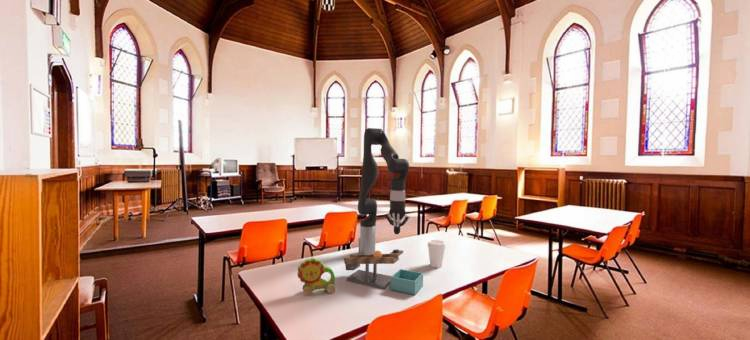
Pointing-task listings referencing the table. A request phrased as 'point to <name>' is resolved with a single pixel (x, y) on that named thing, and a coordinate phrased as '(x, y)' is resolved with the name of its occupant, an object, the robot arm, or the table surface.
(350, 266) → the lever
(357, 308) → the table surface
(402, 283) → the teal storage bin
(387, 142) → the robot arm
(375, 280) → the stand
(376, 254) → the ball
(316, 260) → the toy lion
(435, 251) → the foam cup
